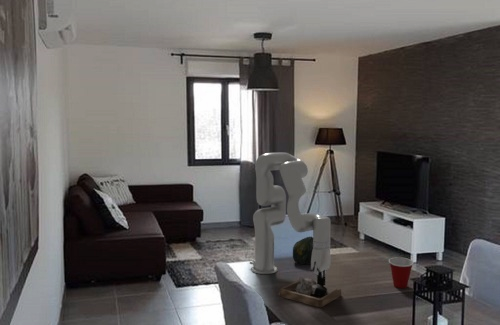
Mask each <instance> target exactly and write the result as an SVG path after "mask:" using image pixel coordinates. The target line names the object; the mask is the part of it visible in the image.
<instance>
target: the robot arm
mask: <svg viewBox="0 0 500 325" xmlns="http://www.w3.org/2000/svg"><path fill="white" fill-rule="evenodd" d="M254 168H255V175H256V176H255V177H256V182H255V184H256V187H255V188H256V190H255V192H256V196H255V198H256V203H257V204H258V205H259V206H262V207H264V208H258V209H257V210H255V212H254V213H253V215H252V220H253V225H254V226H253V228H254V257H255V258H254V259H253V258H252V259H250V261H249V264H250V265H253V266H252V268H251V271H252V272H253V273H255V274H259V275H270V274H274V273H277V272H278V267H277V266H275V234H274V232H273V229H272V227H275V226H280V225H281V224H283V223H284V222H285V220H286V215H287V217H288V220H289V222H290V225H291V227H292V228H293V229H294V231H295V232H297V233H304V232H309V231H312V237H313V250H312V256H311V263H310V270H311V271H313V274H314V275H316V283H317V284H320V285H322V286H324V287H325V286H326V275H327V271H328V270H329V268H331V262H332V261H331V260H332V258H331V226H332V225H331V223H332V222H331V218H330V216H329V217H328V216H325V215H319V214H317V213H314V212H313V213H311V212H310V213H305V214H302V213H301V210H300V207H299V202H300V199H301V198H302V197H303V196H304V195H305V194H306V192H307V188H306V187H305V183H304V181H303V178H305V177H306V176H307V175H308V173H309V171H308V170H309V169H308V168H309V167H308V166H307V164H306V163H305V162H304V161H303V160H301V159H300V158H298V157H297V156H294V155H292V154H290V153H289V152H266V153H263V154H261V155H259V156H258V157H257V158H256V161H255V165H254ZM271 171H279V173H280V175H281V179H282V182H283V184H284V186H285V189H286V191H285V189H284V188H283V186H281V185H275V184H274V175H273V173H272V172H271ZM286 193H287V194H288V200H287V195H286ZM265 206H270V207H265Z"/></svg>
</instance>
